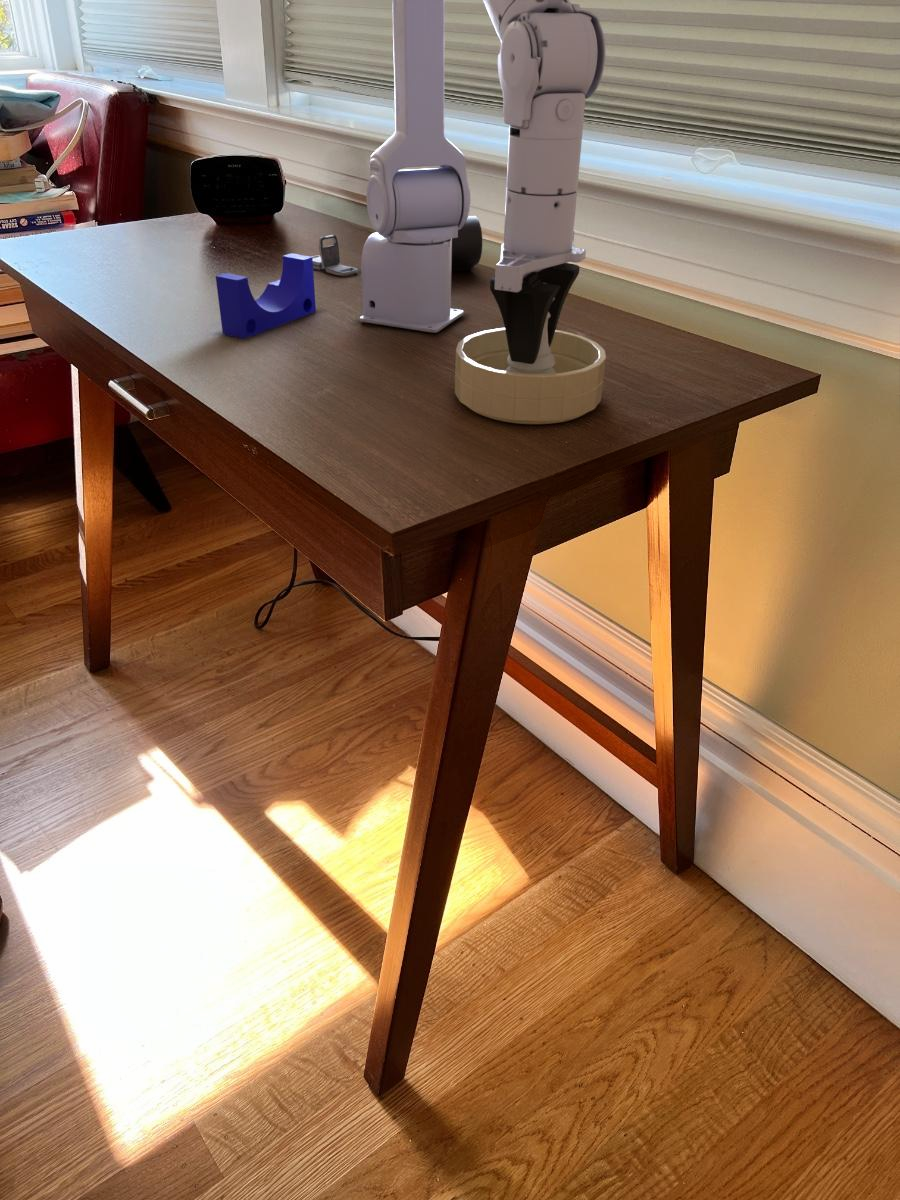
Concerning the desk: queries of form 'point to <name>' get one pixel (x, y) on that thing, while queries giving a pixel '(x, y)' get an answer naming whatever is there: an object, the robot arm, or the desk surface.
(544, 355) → the rook chess piece
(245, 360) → the desk surface
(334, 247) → the strap clip
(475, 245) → the end cap
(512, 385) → the pan
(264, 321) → the blue pipe saddle bracket
